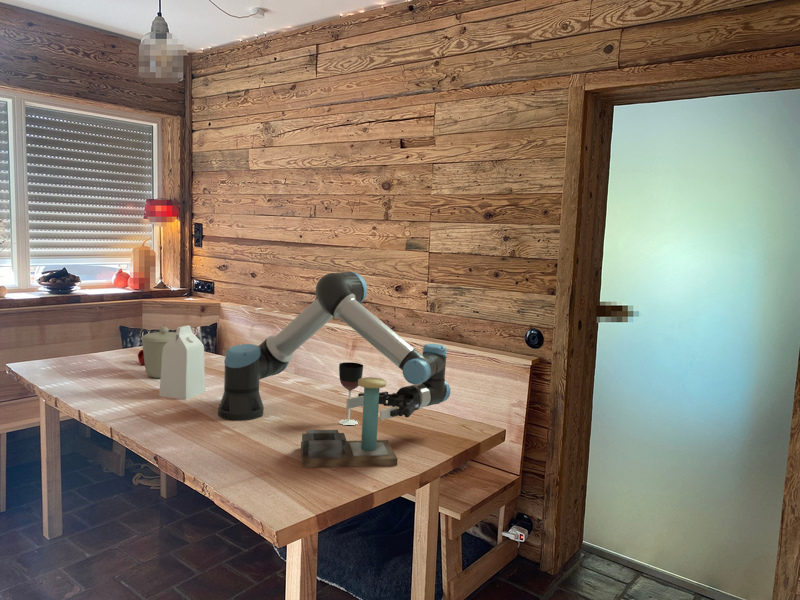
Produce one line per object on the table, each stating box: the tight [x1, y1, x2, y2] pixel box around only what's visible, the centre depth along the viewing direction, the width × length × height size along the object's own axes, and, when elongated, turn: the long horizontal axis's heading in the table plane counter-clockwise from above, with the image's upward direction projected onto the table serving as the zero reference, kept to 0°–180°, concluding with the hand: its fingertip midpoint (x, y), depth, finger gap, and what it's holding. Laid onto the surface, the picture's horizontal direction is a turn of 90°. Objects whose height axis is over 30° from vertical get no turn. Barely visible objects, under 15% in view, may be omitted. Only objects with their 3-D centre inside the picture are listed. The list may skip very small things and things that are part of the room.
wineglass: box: [338, 361, 364, 425], centre depth 198 cm, size 8×9×20 cm
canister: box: [140, 326, 176, 379], centre depth 247 cm, size 18×18×21 cm
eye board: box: [300, 429, 399, 469], centre depth 167 cm, size 26×15×6 cm, turn 102°
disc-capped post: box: [358, 376, 387, 451], centre depth 168 cm, size 8×8×20 cm
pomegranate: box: [137, 349, 145, 366], centre depth 267 cm, size 10×10×9 cm
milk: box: [158, 324, 206, 401], centre depth 221 cm, size 12×12×26 cm
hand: (363, 409), depth 165 cm, fingers open, 13 cm apart
